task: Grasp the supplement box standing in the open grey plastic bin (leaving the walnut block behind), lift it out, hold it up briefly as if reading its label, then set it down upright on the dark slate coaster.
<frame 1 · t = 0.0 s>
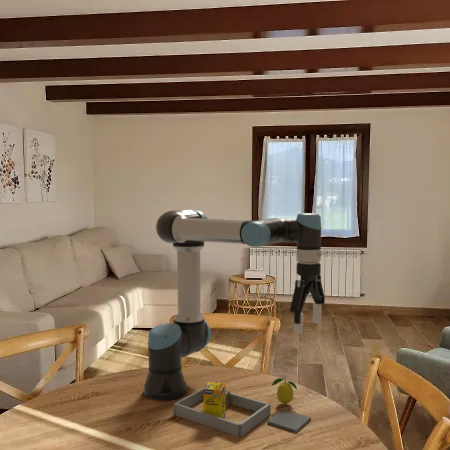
hand: (308, 328, 158), 28 cm above the table, fingers open, 13 cm apart
lemon: (284, 405, 166), on the table
walnut block: (220, 406, 165), resting in grey bin
grey bin: (222, 414, 159), on the table
supplement box: (214, 420, 156), resting in grey bin
slate coaster: (289, 421, 154), on the table
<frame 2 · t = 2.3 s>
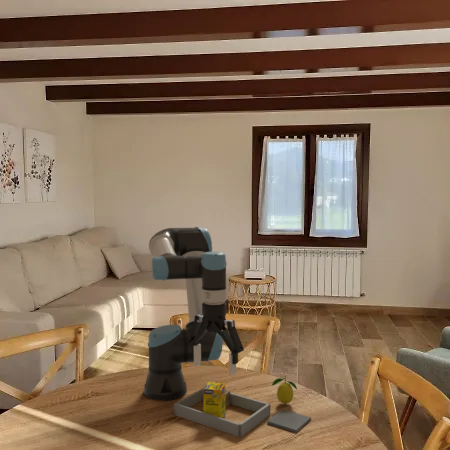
hand: (214, 369, 154), 16 cm above the table, fingers open, 13 cm apart
nothing on the table moved.
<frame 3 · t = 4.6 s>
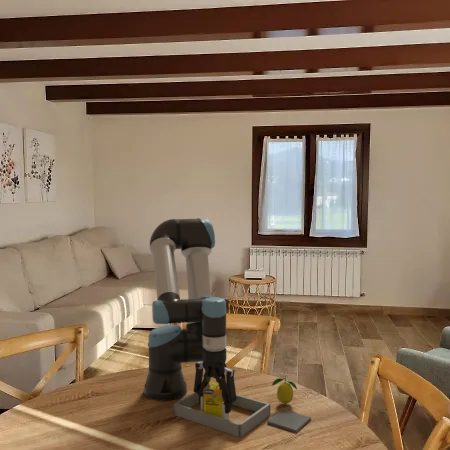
hand: (214, 418, 156), 0 cm above the table, fingers closed on supplement box, 8 cm apart
supplement box: (214, 420, 156), resting in grey bin, touching gripper
everything else where it was.
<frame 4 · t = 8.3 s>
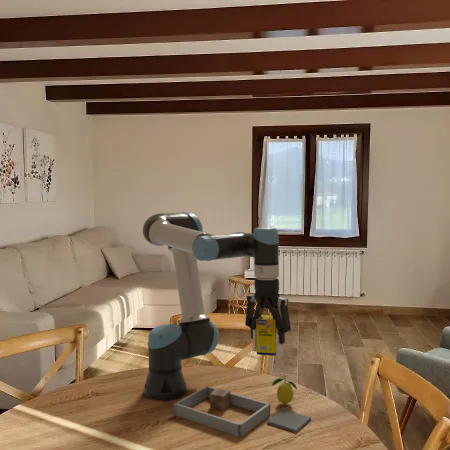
hand: (267, 351, 152), 22 cm above the table, fingers closed on supplement box, 7 cm apart
supplement box: (267, 353, 152), point 22 cm above the table, touching gripper
everything else where it was.
when the fingers open (2 cm above the table, at t = 12.3 s): supplement box drops 1 cm, resting on slate coaster.
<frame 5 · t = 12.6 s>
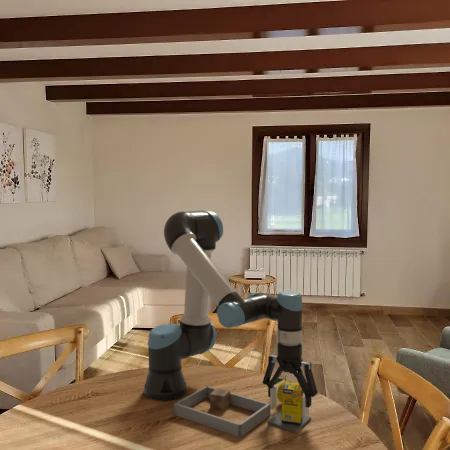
hand: (289, 411, 154), 3 cm above the table, fingers open, 10 cm apart
supplement box: (292, 420, 153), point 1 cm above the table, touching slate coaster
everything else where it was.
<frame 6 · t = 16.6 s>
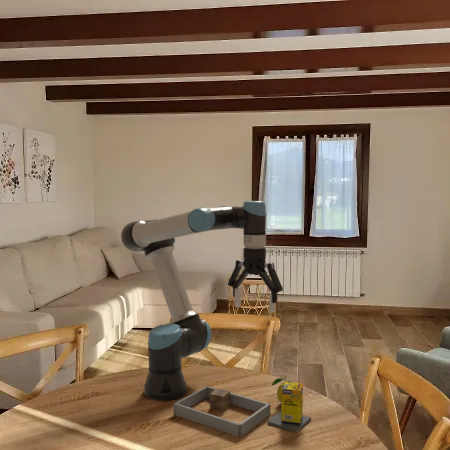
hand: (254, 309, 167), 32 cm above the table, fingers open, 13 cm apart
nothing on the table moved.
at the end: supplement box 1.1 cm from the slate coaster (horizontally); supplement box tilted 0°; supplement box point 0.6 cm above the table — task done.
